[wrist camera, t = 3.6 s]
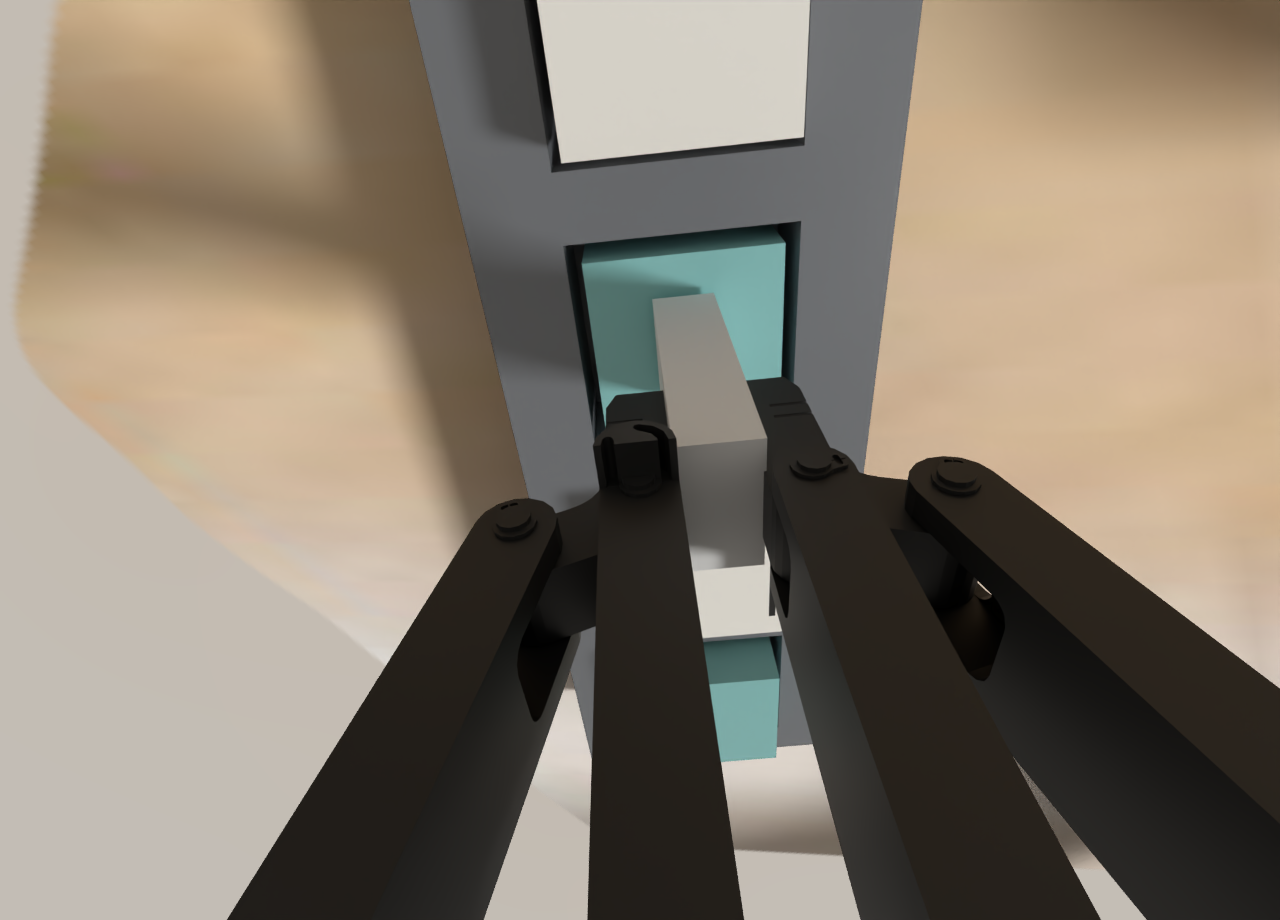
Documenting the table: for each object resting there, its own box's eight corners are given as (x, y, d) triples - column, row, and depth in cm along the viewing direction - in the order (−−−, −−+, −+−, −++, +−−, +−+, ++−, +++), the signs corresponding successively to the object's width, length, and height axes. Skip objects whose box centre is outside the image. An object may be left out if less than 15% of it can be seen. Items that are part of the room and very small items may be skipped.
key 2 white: (767, 578, 23) (781, 631, 21) (631, 590, 23) (633, 644, 21) (769, 467, 20) (787, 515, 18) (616, 481, 20) (616, 531, 18)
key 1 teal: (764, 702, 27) (776, 757, 25) (649, 712, 27) (651, 767, 25) (765, 624, 24) (779, 678, 22) (638, 635, 24) (640, 690, 22)
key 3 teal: (763, 379, 20) (779, 419, 18) (607, 394, 20) (606, 435, 18) (765, 217, 17) (785, 242, 15) (585, 236, 17) (581, 263, 15)
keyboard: (809, 673, 30) (829, 742, 27) (594, 691, 30) (592, 762, 27) (889, -274, 13) (967, -360, 10) (401, -212, 13) (341, -280, 10)
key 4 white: (778, 121, 15) (804, 137, 13) (568, 144, 15) (561, 163, 13) (785, -168, 12) (819, -206, 10) (529, -137, 12) (511, -170, 10)
